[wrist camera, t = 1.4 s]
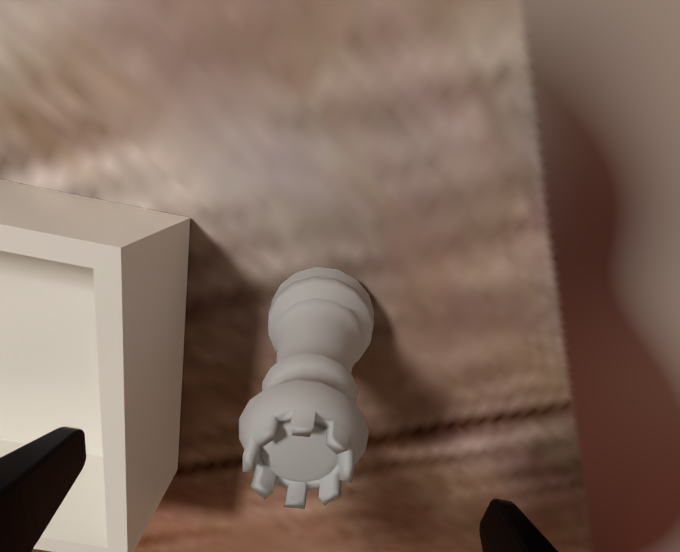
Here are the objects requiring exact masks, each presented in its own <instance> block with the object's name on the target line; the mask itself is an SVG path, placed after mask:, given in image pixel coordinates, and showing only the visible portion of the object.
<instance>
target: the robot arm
mask: <svg viewBox="0 0 680 552" xmlns="http://www.w3.org/2000/svg"><path fill="white" fill-rule="evenodd" d="M85 462H86V445H85V433H84V431H83V430H82V429H78V428H72V427H65V426H64V427H60V428H57V429H55V430H53V431H51V432H49V433H47V434H45V435H43V436H41V437H39V438H37V439H35V440H33V441H32V442H30V443H28V444H26V445H24V446H22V447H20V448H18V449H16V450H14V451H12V452H10V453H8V454H6V455H4V456H2V457H0V552H31V551H32V549H33V548H34V546H35V545H36V543H37V542H38V540H39V539H40V537H41V536H42V534H43V532H44V531H45V529H46V527H47V526H48V524H49V523H50V521H51V519H52V518H53V516H54V515H55V513H56V511H57V510H58V508H59V506H60V505H61V503H62V502H63V500H64V498H65V497H66V495H67V494H68V492H69V490H70V489H71V487H72V485H73V484H74V482H75V481H76V479H77V477H78V476H79V474H80V472H81V471H82V469H83V467H84V465H85ZM479 530H480V538H481V544H482V549H483V552H558V551H557V550H556V549H555V548H554V547H553V546H552V544H551V543H550V542H549V541H548V540H547V539H546V538H545V537H544V536H543V535H542V533H541V532H540V531H539V530H538V529H537V528H536V527H535V526H534V525H533V524H532V523H531V521H530V520H529V519H528V518H527V517H526V516H525V515H524V514H523V513H522V512H521V510H520V509H519V508H518V507H517V506H516V505H515V504H514V503H512V502H511V501H507V500H501V499H493V500H492V501H491V502H490V504H489V506H488V508H487V510H486V512H485V514H484V516H483V518H482V520H481V522H480V529H479Z"/></svg>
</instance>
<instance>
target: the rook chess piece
mask: <svg viewBox="0 0 680 552" xmlns="http://www.w3.org/2000/svg"><path fill="white" fill-rule="evenodd" d="M373 318H374V310H373V307H372V303H371V299H370V296H369V294H368V293H367V291H366V290H365V289H364V288H363V287H362V285H361V284H360V283H359V282H358V281H357V279H355V278H353V277H351V276H349V275H347V274H345V273H343V272H342V271H340V270H338V269H329V268H320V267H315V268H311V269H307V270H304V271H300V272H296V273H295V274H294V275H292V276H291V277H290V278H288V279H287V280H286V281H285V282H283V283H282V284H281V285H280V287H279V288H278V290H277V292H276V294H275V296H274V298H273V300H272V304H271V308H270V310H269V317H268V334H269V337H270V339H271V342H272V344H273V347H274V349H275V351H276V352H277V362H276V364H275V365H274V366H273V367H271V368H270V370H269V371H268V373H267V375H266V377H265V378H264V380H263V382H262V392H261V393H259V394H258V395H256V396H255V397H253V398H252V399H250V400H249V402H248V404H247V405H246V407H245V409H244V411H243V413H242V414H241V416H240V418H239V440H240V442H241V444H242V446H243V448H244V453H243V472H245V471H255V473H254V477H253V480H252V484H251V488H252V489H254V490H255V491H256V492H257V493H258V494H259V495H261V496H262V497H263V498H264V499H266V498H267V497H268V496H269V495H270V494H271V493H272V492H273V487H274V484H277V485H279V486H282V487H284V488H287V493H286V499H285V504H284V507H291V508H301V509H305V503H306V495H307V491H308V490H314V489H319V488H320V489H319V498H320V500H321V501H322V502H323V504H324V505H326V504H328V503H330V502H331V501H333V500H335V499H337V498H339V497H340V496H341V480H343V481H347V482H351V483H352V477H353V471H354V466H355V465H356V463H357V462H358V461H359V459H360V458H361V457H362V455H363V454H364V453H365V452H366V446H367V440H368V435H369V431H368V428H367V425H366V422H365V418H364V415H363V412H362V411H361V410H360V409H359V408H358V407H357V406H356V403H357V397H358V390H357V387H356V384H355V381H354V378H353V376H352V375H351V372H352V367H353V366H354V364H355V363H356V362H357V361H358V360H359V359H360V358H361V357H362V355H363V354H364V352H365V351H366V349H367V348H368V346H369V344H370V342H371V338H372V332H373V326H374V321H373Z"/></svg>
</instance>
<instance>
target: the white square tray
mask: <svg viewBox="0 0 680 552" xmlns="http://www.w3.org/2000/svg"><path fill="white" fill-rule="evenodd" d="M189 233H190V218H189V217H184V216H179V215H174V214H169V213H164V212H159V211H154V210H149V209H144V208H139V207H134V206H129V205H124V204H120V203H115V202H110V201H105V200H100V199H95V198H90V197H85V196H80V195H75V194H70V193H65V192H60V191H55V190H50V189H45V188H40V187H35V186H30V185H25V184H20V183H15V182H11V181H6V180H1V179H0V457H2V456H4V455H6V454H8V453H10V452H12V451H14V450H16V449H18V448H20V447H22V446H24V445H26V444H28V443H30V442H32V441H33V440H35V439H37V438H39V437H41V436H43V435H45V434H47V433H49V432H51V431H53V430H55V429H57V428H60V427H64V426H65V427H72V428H78V429H82V430H83V431H84V433H85V445H86V462H85V465H84V467H83V469H82V471H81V472H80V474H79V476H78V477H77V479H76V481H75V482H74V484H73V485H72V487H71V489H70V490H69V492H68V494H67V495H66V497H65V498H64V500H63V502H62V503H61V505H60V506H59V508H58V510H57V511H56V513H55V515H54V516H53V518H52V519H51V521H50V523H49V524H48V526H47V527H46V529H45V531H44V532H43V534H42V536H41V537H40V539H39V540H38V542H37V543H36V545H35V546H34V548H33V549H39V550H46V551H52V552H134V550H135V548H136V547H137V545H138V543H139V541H140V539H141V537H142V535H143V533H144V532H145V530H146V528H147V526H148V524H149V522H150V520H151V518H152V517H153V515H154V513H155V511H156V509H157V507H158V505H159V503H160V502H161V500H162V498H163V496H164V494H165V492H166V490H167V489H168V487H169V485H170V483H171V481H172V479H173V477H174V475H175V474H176V472H177V470H178V453H179V433H180V413H181V393H182V373H183V353H184V333H185V313H186V293H187V273H188V253H189Z"/></svg>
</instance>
